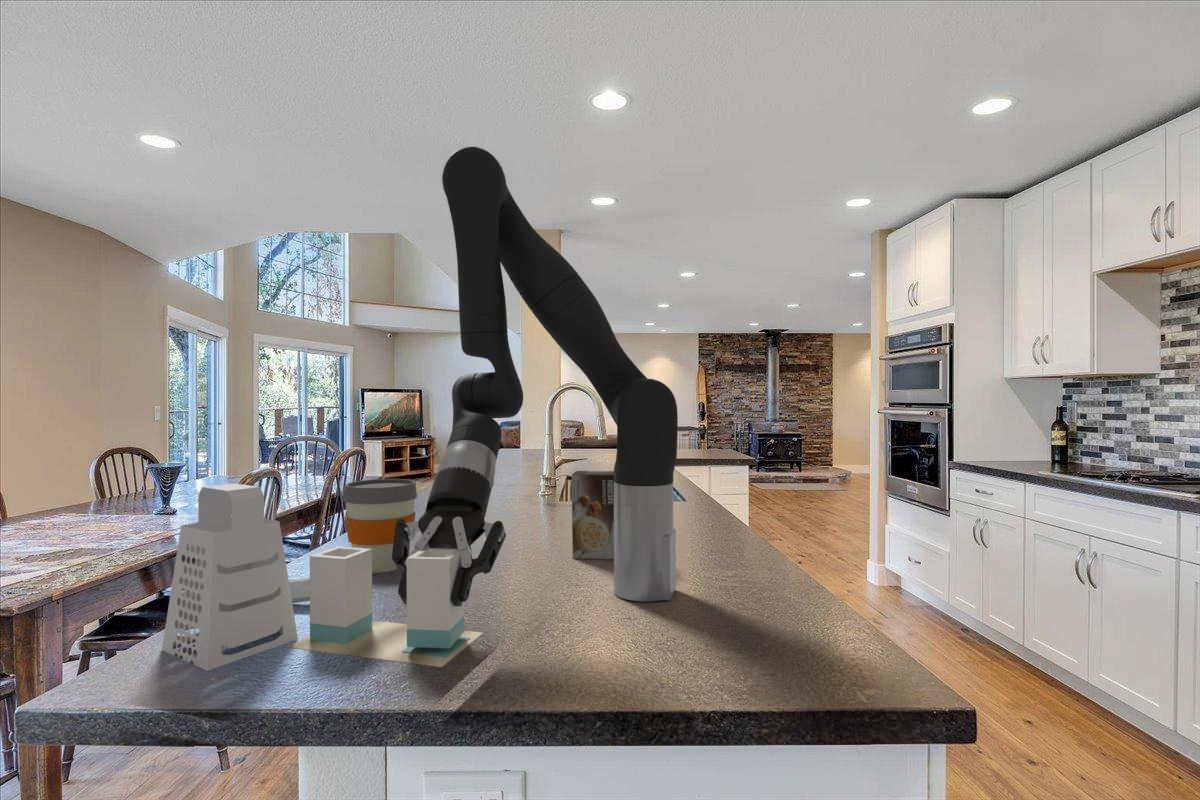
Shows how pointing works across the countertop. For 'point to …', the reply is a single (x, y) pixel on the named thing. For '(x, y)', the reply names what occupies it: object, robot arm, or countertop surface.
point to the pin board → (390, 646)
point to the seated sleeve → (340, 594)
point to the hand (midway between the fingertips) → (431, 601)
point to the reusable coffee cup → (378, 516)
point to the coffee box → (593, 514)
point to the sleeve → (433, 598)
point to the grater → (229, 579)
